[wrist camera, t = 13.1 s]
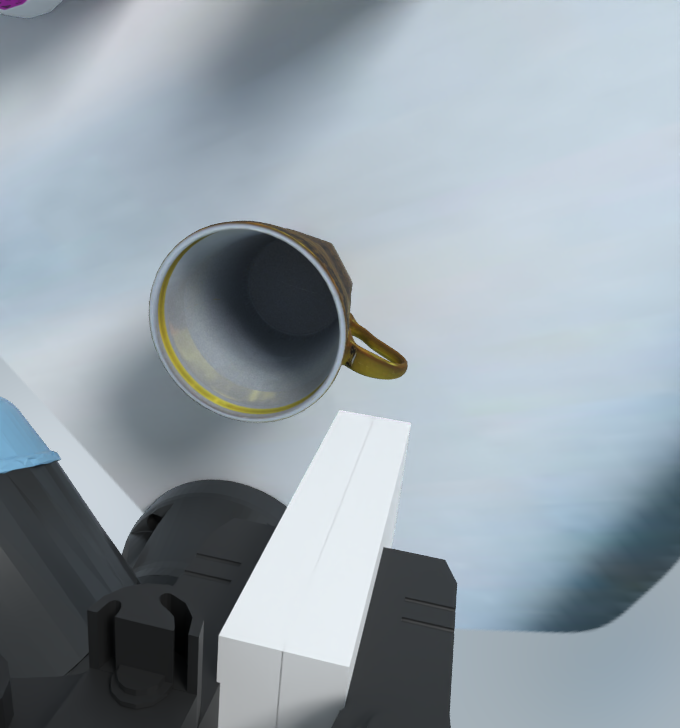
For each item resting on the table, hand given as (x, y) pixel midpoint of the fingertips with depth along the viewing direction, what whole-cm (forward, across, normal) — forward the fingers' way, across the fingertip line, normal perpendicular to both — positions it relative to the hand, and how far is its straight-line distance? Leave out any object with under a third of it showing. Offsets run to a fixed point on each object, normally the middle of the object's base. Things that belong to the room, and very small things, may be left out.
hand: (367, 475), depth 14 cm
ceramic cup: (+27, +7, +3) cm, 28 cm away
